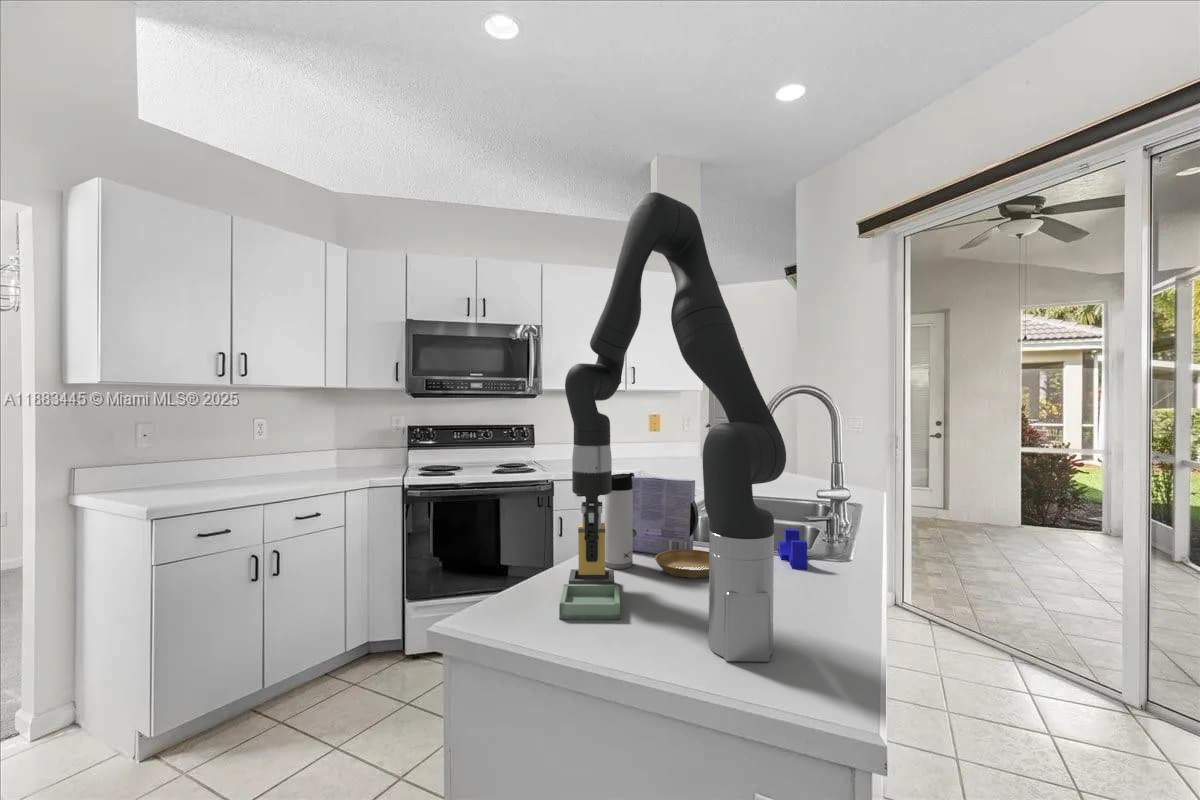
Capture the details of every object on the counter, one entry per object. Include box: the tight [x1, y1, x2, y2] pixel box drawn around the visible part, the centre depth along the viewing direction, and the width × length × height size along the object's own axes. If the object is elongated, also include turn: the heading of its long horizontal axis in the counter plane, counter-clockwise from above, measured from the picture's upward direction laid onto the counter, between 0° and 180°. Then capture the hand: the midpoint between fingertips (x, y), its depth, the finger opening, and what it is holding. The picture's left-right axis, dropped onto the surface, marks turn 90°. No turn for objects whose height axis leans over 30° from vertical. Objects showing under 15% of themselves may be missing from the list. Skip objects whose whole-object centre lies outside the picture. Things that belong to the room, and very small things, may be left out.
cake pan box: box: [632, 474, 699, 555], centre depth 138 cm, size 19×5×18 cm, turn 70°
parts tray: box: [558, 583, 621, 621], centre depth 102 cm, size 10×10×2 cm
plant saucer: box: [654, 549, 709, 579], centre depth 124 cm, size 15×15×3 cm
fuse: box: [577, 522, 606, 575], centre depth 112 cm, size 4×5×9 cm
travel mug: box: [603, 472, 635, 570], centre depth 127 cm, size 6×7×20 cm
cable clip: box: [777, 528, 808, 571], centre depth 131 cm, size 12×4×6 cm, turn 170°
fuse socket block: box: [568, 568, 615, 585], centre depth 112 cm, size 7×8×2 cm
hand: (592, 557), depth 112 cm, fingers closed on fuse, 3 cm apart
